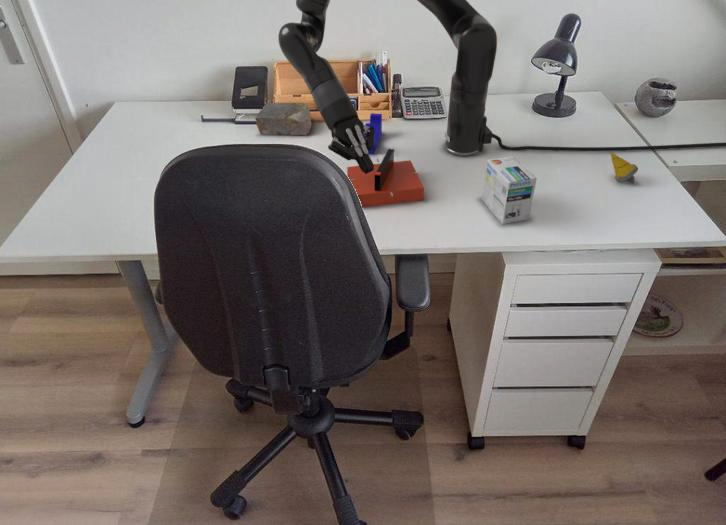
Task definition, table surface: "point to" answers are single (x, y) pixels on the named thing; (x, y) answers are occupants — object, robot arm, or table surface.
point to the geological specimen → (284, 119)
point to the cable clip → (377, 123)
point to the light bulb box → (508, 189)
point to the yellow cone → (623, 169)
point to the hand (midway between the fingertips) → (369, 171)
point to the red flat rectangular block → (387, 185)
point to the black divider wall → (384, 169)
